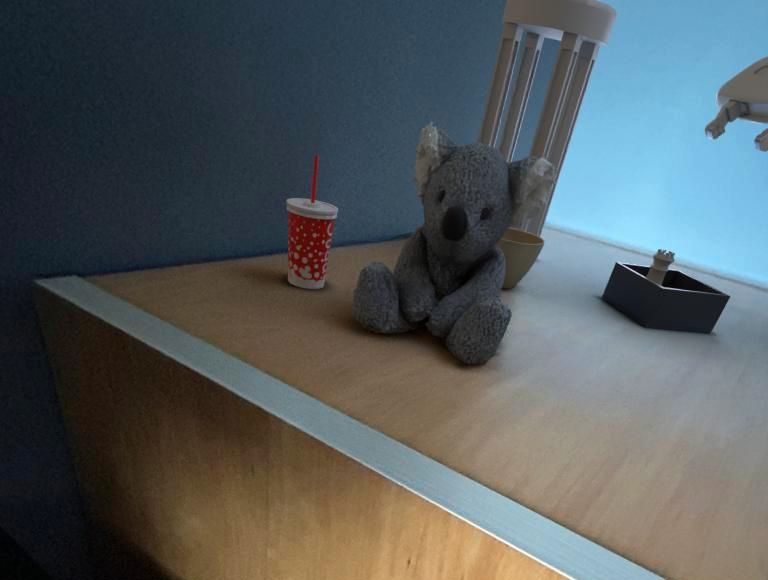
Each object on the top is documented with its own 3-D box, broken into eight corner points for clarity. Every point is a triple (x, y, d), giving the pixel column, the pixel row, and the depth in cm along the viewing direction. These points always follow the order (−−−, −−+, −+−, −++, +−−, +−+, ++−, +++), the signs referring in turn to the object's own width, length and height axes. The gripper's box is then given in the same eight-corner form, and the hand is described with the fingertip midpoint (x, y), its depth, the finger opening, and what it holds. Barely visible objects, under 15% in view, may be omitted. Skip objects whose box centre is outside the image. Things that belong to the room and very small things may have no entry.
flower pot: (483, 269, 93) (496, 221, 89) (538, 288, 89) (554, 240, 85) (454, 277, 86) (466, 226, 82) (512, 298, 82) (528, 246, 78)
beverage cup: (311, 294, 69) (323, 162, 60) (271, 279, 71) (277, 148, 62) (339, 285, 73) (354, 161, 65) (301, 271, 75) (310, 149, 67)
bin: (662, 304, 95) (678, 270, 92) (710, 333, 86) (730, 296, 83) (601, 297, 92) (615, 261, 88) (644, 327, 83) (662, 288, 79)
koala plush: (339, 327, 62) (366, 112, 50) (396, 290, 76) (428, 115, 64) (489, 375, 59) (557, 157, 47) (520, 328, 73) (578, 150, 61)
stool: (516, 272, 95) (600, -6, 74) (437, 246, 100) (494, -20, 79) (547, 261, 106) (627, 16, 85) (474, 237, 111) (532, 2, 90)
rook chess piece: (657, 311, 88) (682, 257, 84) (628, 303, 89) (652, 250, 84) (656, 304, 92) (680, 252, 87) (629, 297, 93) (651, 245, 88)
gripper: (770, 32, 77) (677, 106, 80) (909, 36, 62) (788, 128, 65) (775, 79, 81) (687, 148, 84) (907, 94, 66) (793, 177, 69)
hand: (732, 139), depth 75 cm, fingers open, 8 cm apart
